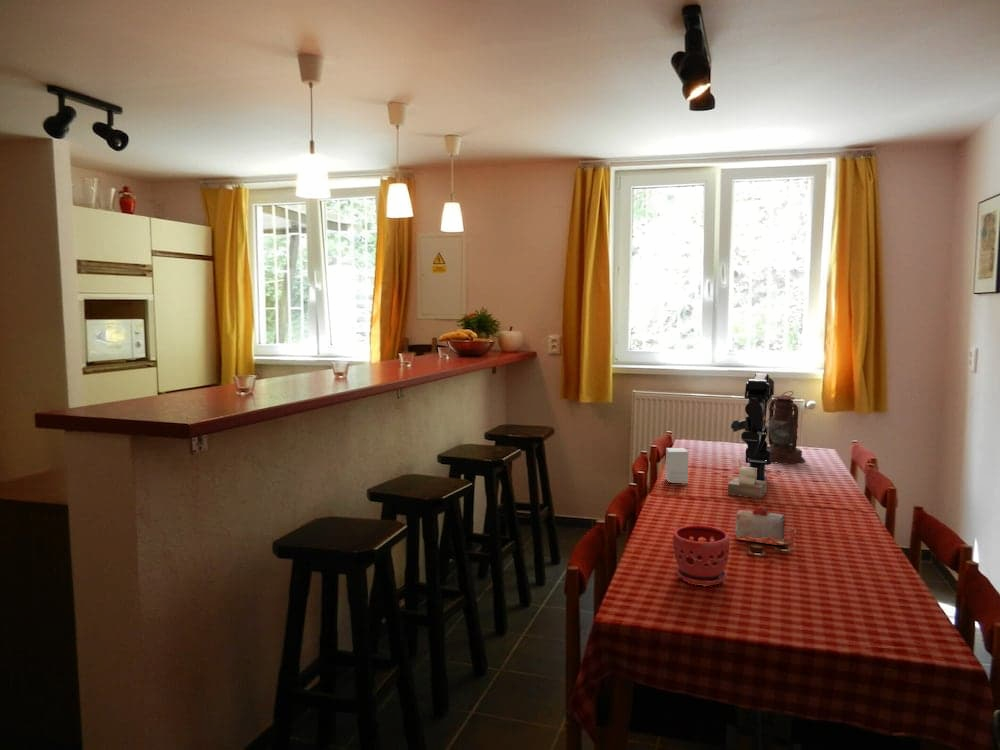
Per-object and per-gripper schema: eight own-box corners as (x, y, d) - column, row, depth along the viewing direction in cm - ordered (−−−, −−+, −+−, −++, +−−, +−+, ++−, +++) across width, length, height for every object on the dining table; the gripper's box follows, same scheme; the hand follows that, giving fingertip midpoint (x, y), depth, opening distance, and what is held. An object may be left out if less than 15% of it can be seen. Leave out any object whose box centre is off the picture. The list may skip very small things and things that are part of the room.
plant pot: (685, 565, 177) (687, 520, 176) (736, 578, 169) (737, 531, 168) (662, 581, 167) (664, 533, 166) (715, 595, 159) (717, 545, 158)
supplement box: (684, 480, 266) (685, 447, 264) (687, 484, 258) (688, 451, 257) (665, 479, 266) (665, 447, 265) (667, 484, 259) (668, 451, 258)
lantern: (749, 456, 308) (752, 389, 306) (784, 453, 314) (787, 388, 311) (778, 465, 290) (781, 395, 288) (814, 462, 296) (818, 393, 293)
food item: (732, 541, 196) (733, 508, 195) (735, 533, 203) (737, 500, 202) (784, 549, 190) (785, 514, 189) (785, 540, 197) (787, 506, 196)
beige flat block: (735, 487, 254) (735, 477, 254) (766, 492, 248) (766, 481, 248) (727, 494, 245) (728, 483, 244) (760, 499, 239) (760, 487, 239)
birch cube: (742, 479, 250) (742, 466, 249) (756, 481, 247) (756, 468, 247) (738, 482, 245) (739, 469, 245) (753, 484, 243) (754, 470, 242)
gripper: (739, 408, 265) (737, 448, 266) (727, 415, 249) (725, 457, 250) (769, 411, 259) (768, 451, 260) (759, 417, 243) (757, 461, 244)
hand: (754, 455), depth 254 cm, fingers open, 9 cm apart
